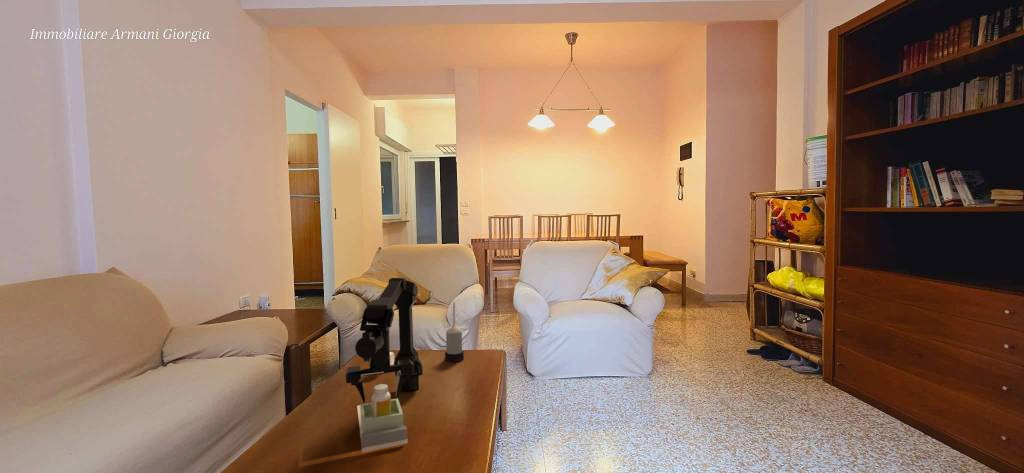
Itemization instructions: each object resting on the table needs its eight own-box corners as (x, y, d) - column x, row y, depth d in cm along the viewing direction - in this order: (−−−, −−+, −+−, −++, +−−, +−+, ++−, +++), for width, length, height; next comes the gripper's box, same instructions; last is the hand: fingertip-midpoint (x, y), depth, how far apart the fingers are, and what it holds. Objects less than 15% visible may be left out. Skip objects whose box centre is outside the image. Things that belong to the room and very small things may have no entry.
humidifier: (456, 363, 184) (455, 305, 183) (441, 360, 188) (440, 303, 187) (467, 357, 191) (467, 301, 190) (452, 354, 195) (452, 299, 194)
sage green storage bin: (398, 416, 135) (397, 398, 135) (403, 432, 125) (403, 413, 125) (360, 422, 131) (360, 404, 131) (363, 440, 121) (362, 421, 121)
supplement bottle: (394, 416, 129) (394, 384, 129) (382, 424, 125) (381, 391, 124) (380, 413, 132) (379, 381, 131) (367, 421, 127) (367, 388, 126)
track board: (394, 402, 148) (394, 390, 147) (407, 443, 122) (407, 429, 121) (357, 408, 143) (356, 396, 143) (362, 452, 117) (361, 438, 117)
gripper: (407, 335, 137) (408, 384, 138) (344, 342, 130) (345, 393, 131) (413, 346, 127) (414, 398, 128) (345, 354, 120) (346, 409, 121)
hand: (380, 399), depth 127 cm, fingers open, 9 cm apart
